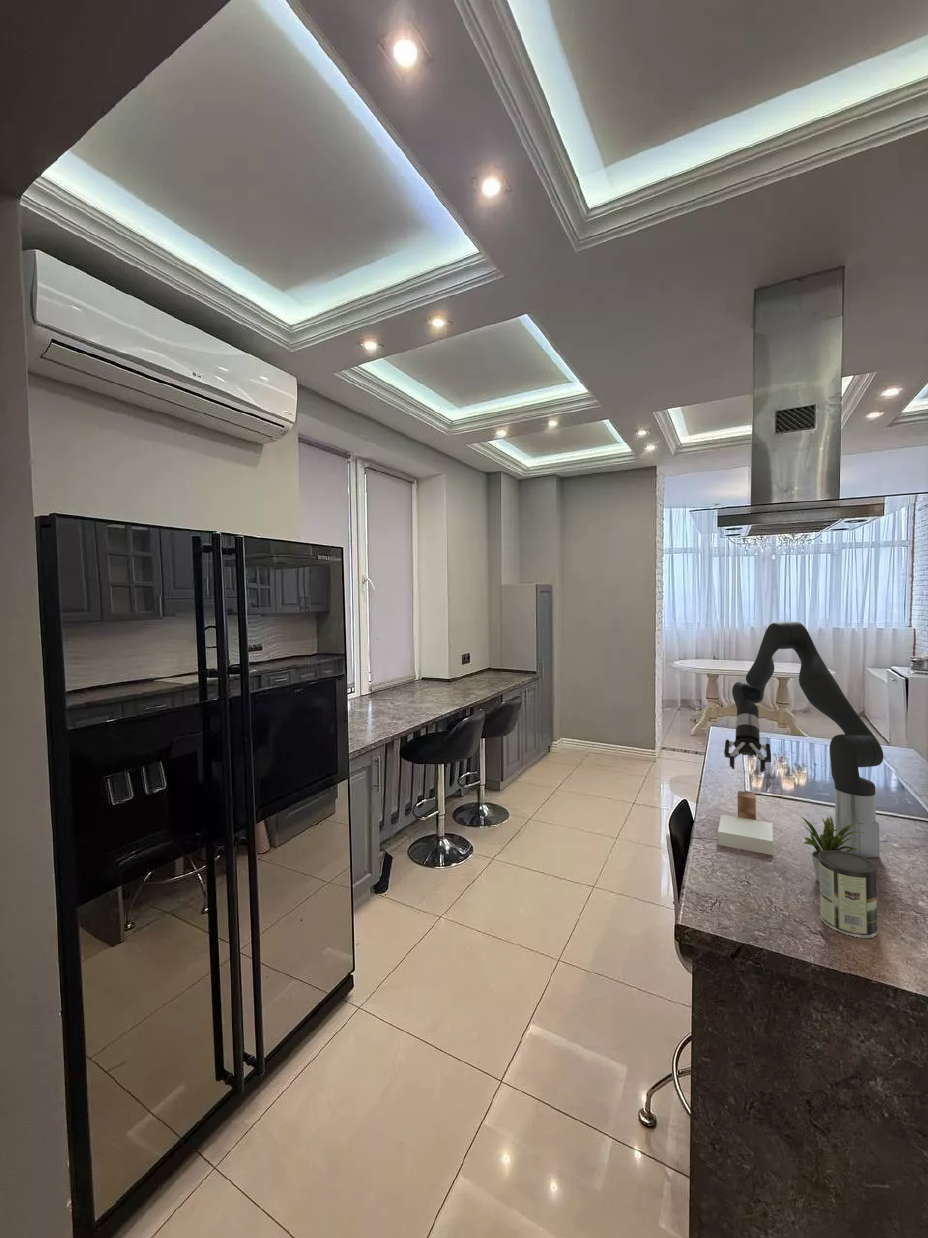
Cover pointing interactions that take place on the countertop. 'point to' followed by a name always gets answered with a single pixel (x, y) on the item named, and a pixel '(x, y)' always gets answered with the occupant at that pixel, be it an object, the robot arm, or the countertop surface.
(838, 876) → the coffee can
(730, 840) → the cream base
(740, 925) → the countertop surface
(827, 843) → the house plant
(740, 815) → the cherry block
